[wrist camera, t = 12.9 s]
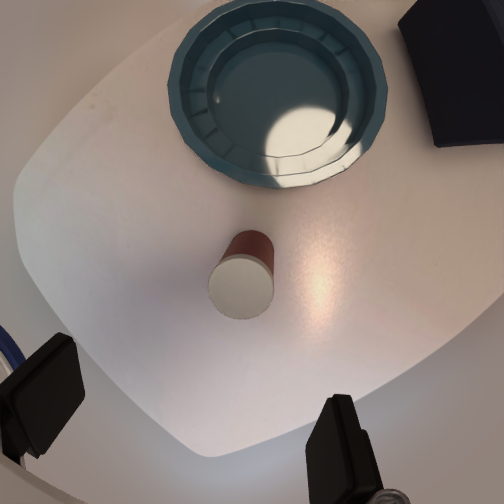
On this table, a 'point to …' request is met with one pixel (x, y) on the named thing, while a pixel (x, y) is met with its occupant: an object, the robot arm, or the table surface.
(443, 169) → the table surface
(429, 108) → the speaker
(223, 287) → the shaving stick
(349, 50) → the basin
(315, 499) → the robot arm
